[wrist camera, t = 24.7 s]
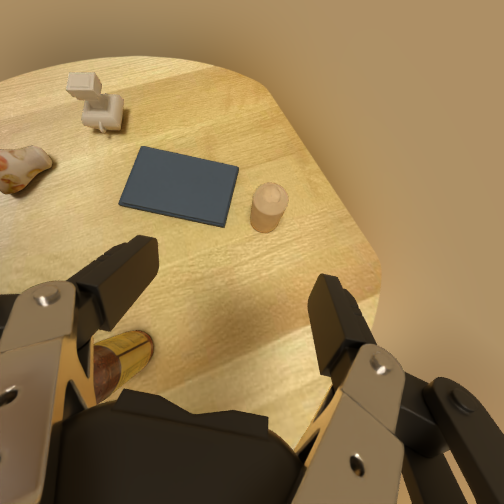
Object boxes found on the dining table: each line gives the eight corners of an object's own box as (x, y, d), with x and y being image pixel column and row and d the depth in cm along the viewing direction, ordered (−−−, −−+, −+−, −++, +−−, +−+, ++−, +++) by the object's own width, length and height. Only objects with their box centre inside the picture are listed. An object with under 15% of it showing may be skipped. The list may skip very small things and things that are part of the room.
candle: (283, 226, 39) (297, 201, 30) (258, 237, 38) (264, 216, 29) (269, 202, 40) (279, 171, 31) (245, 213, 39) (247, 185, 30)
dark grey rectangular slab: (120, 205, 38) (115, 202, 37) (142, 148, 41) (139, 143, 40) (224, 228, 38) (223, 225, 37) (238, 169, 42) (238, 165, 40)
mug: (71, 168, 39) (3, 159, 30) (46, 201, 42) (-24, 202, 32) (42, 136, 39) (-37, 116, 29) (18, 172, 41) (-61, 164, 32)
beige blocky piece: (126, 141, 41) (98, 102, 33) (92, 140, 41) (55, 100, 33) (130, 105, 43) (105, 60, 35) (98, 104, 43) (65, 58, 35)
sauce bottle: (109, 343, 33) (-77, 405, 13) (145, 321, 34) (22, 350, 14) (126, 381, 32) (-50, 509, 12) (163, 358, 33) (55, 441, 13)
